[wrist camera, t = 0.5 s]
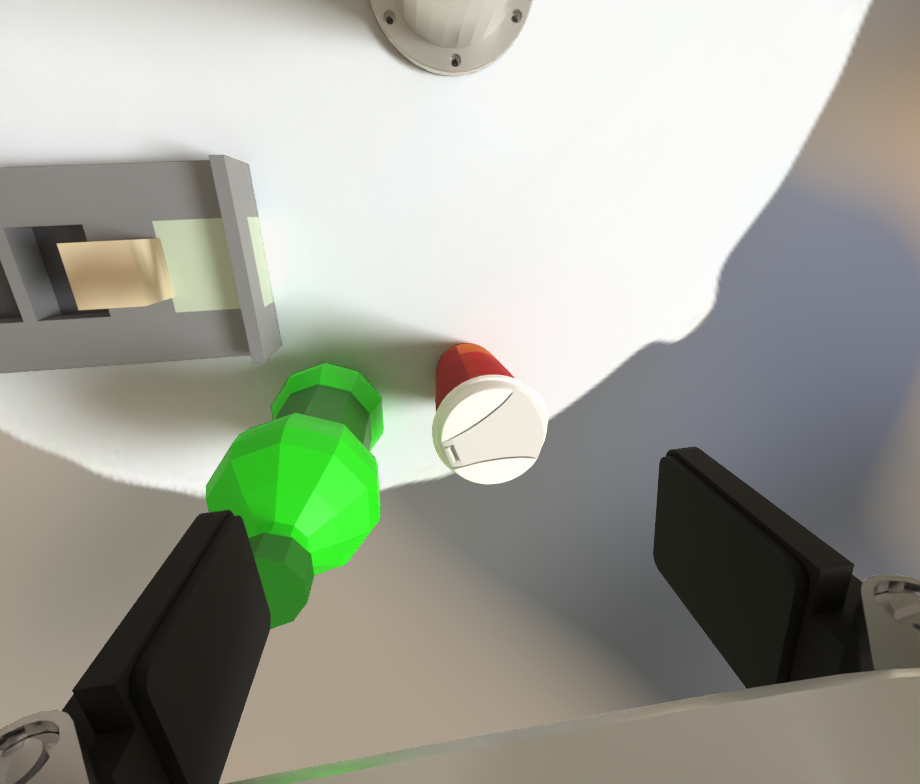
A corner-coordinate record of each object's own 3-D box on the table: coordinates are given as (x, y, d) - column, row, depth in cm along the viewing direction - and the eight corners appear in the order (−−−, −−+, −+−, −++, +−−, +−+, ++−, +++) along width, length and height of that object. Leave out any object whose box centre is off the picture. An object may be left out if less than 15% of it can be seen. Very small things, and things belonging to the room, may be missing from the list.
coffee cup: (442, 422, 47) (458, 507, 33) (411, 350, 44) (414, 409, 30) (519, 392, 47) (568, 464, 33) (493, 317, 44) (534, 361, 30)
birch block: (97, 241, 35) (56, 243, 31) (159, 238, 36) (127, 240, 31) (115, 300, 37) (78, 310, 33) (174, 296, 37) (145, 306, 33)
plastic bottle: (289, 453, 46) (171, 687, 23) (274, 351, 43) (116, 505, 19) (390, 448, 47) (376, 667, 24) (384, 347, 44) (361, 490, 20)
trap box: (-93, 176, 35) (-178, 168, 30) (248, 164, 37) (223, 154, 32) (-14, 365, 40) (-75, 386, 35) (281, 345, 42) (265, 361, 37)
